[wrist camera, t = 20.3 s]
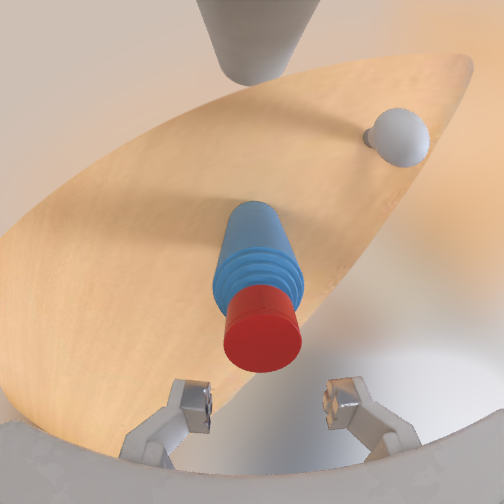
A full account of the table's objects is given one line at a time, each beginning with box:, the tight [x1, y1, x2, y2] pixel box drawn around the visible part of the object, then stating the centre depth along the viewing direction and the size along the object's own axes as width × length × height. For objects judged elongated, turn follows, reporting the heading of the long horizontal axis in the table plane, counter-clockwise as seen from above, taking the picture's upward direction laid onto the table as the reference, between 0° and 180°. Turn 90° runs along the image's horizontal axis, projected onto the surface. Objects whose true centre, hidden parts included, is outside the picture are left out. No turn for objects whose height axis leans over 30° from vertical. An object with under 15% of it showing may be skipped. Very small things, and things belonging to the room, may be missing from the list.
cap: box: [224, 285, 302, 373], centre depth 15 cm, size 4×4×3 cm
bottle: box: [213, 201, 304, 317], centre depth 24 cm, size 6×6×22 cm
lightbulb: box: [363, 108, 430, 168], centre depth 25 cm, size 6×6×11 cm
